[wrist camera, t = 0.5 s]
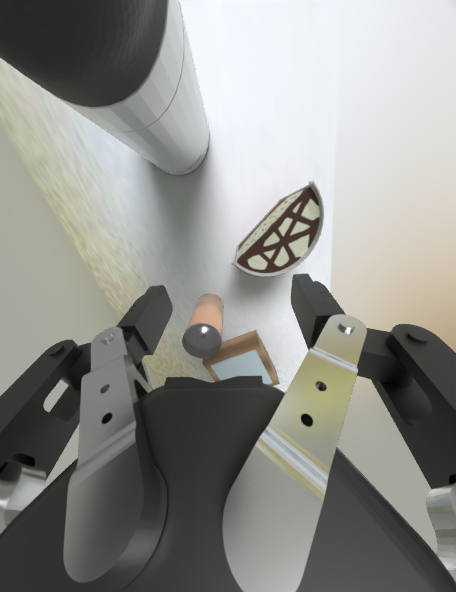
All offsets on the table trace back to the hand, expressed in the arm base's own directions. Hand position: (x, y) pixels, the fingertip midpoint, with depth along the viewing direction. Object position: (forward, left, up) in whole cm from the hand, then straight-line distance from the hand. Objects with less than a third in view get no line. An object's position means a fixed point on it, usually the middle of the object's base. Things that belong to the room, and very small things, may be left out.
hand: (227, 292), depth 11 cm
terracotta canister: (+9, -8, -20) cm, 24 cm away
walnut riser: (+24, -8, -20) cm, 32 cm away
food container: (+2, +7, -20) cm, 22 cm away
